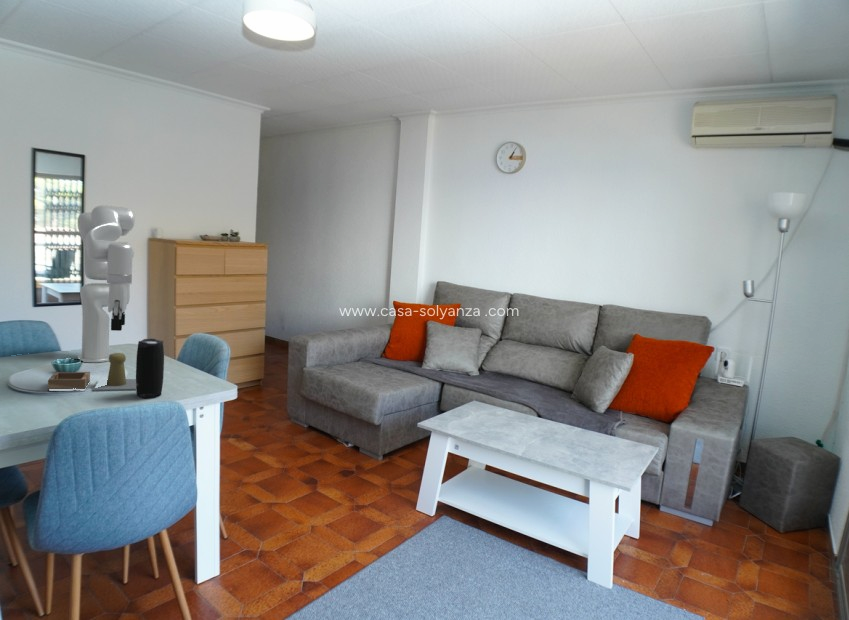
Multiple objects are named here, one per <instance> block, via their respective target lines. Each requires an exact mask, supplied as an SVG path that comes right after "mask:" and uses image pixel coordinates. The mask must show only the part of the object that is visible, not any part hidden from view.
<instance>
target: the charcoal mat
mask: <svg viewBox="0 0 849 620" xmlns="http://www.w3.org/2000/svg"><path fill="white" fill-rule="evenodd" d="M93 388H94V387H93ZM93 388H92V392H119V391H120V392H121V391H123V392H125V391H126V392H127V391H136V378H128V379H127V378H126V384H125V385H122V386H109V385H105V386H101V387H98V388H94V389H93Z"/></svg>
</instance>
